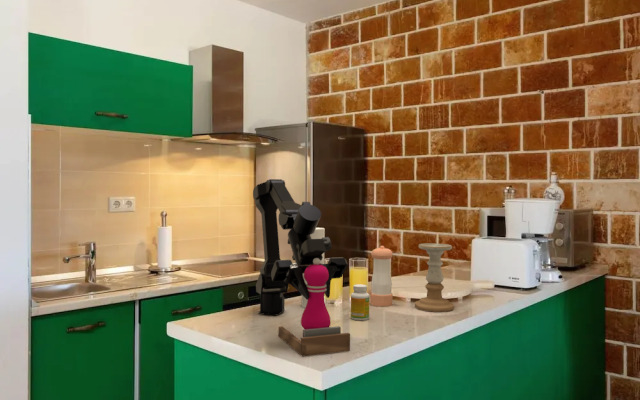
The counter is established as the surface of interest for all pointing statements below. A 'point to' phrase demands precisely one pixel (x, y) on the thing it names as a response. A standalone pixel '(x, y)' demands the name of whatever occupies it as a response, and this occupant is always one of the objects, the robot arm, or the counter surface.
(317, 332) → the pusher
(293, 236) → the robot arm
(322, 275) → the pepper mill
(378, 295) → the salt shaker
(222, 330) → the counter surface
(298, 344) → the lane
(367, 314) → the supplement bottle
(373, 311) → the counter surface
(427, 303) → the candle holder
